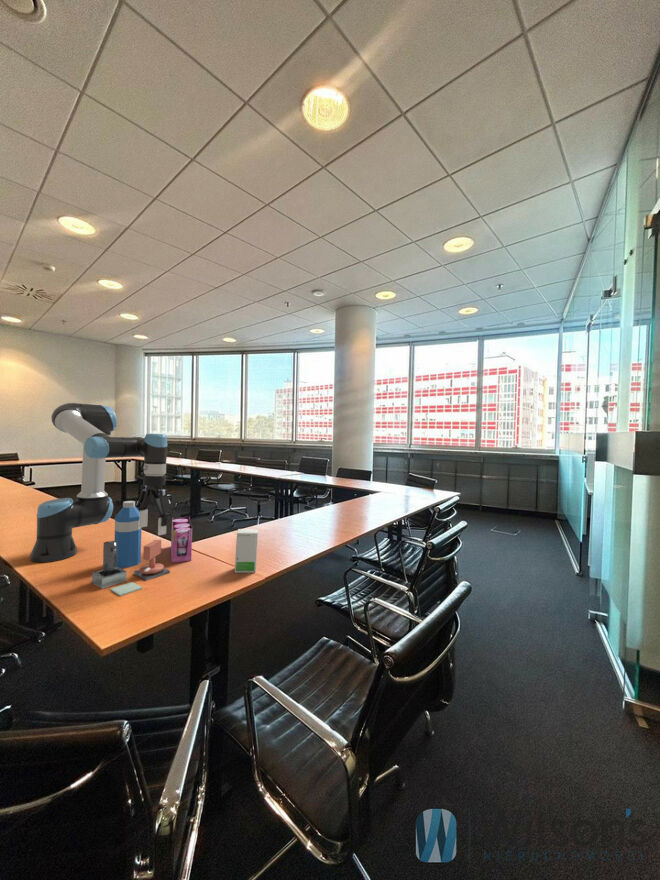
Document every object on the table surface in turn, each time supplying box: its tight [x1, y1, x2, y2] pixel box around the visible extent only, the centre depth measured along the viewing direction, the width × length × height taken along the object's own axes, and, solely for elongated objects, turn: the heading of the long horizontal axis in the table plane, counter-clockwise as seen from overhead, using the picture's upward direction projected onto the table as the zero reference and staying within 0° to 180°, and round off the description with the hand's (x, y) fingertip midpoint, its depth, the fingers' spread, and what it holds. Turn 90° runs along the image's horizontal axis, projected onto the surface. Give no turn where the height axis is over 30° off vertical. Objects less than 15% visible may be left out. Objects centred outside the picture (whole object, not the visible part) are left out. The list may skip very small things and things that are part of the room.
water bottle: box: [113, 500, 143, 569], centre depth 138 cm, size 9×9×25 cm
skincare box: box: [234, 528, 259, 574], centre depth 136 cm, size 8×7×16 cm
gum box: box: [170, 516, 193, 564], centre depth 152 cm, size 24×8×14 cm, turn 25°
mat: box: [110, 581, 143, 597], centre depth 116 cm, size 7×7×1 cm
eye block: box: [91, 566, 128, 590], centre depth 121 cm, size 8×8×4 cm
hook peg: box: [102, 540, 117, 577], centre depth 121 cm, size 6×4×14 cm
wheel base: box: [133, 567, 171, 581], centre depth 130 cm, size 9×9×1 cm
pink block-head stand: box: [139, 539, 165, 574], centre depth 129 cm, size 8×8×10 cm
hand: (152, 530), depth 130 cm, fingers open, 13 cm apart
